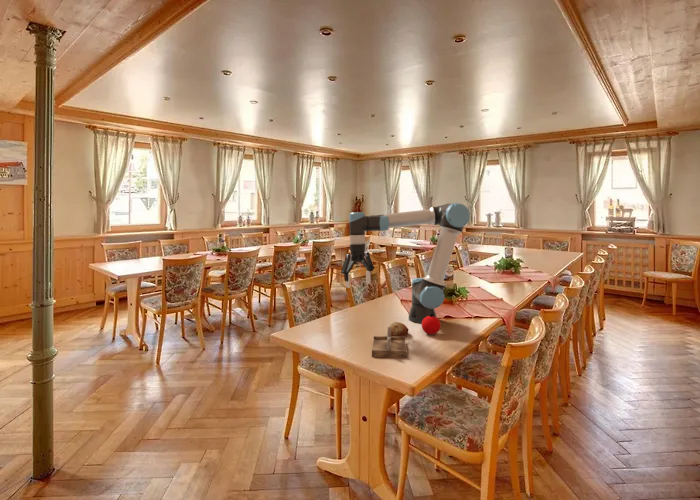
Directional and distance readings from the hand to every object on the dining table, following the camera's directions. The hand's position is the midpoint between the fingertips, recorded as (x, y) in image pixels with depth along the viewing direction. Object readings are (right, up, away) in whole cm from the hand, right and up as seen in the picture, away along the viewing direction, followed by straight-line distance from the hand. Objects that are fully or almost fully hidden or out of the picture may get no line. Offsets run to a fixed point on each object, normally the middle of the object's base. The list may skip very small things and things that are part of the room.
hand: (358, 285), depth 192 cm
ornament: (+35, -23, -7) cm, 42 cm away
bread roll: (+19, -23, -7) cm, 31 cm away
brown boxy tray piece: (+13, -25, -27) cm, 39 cm away
